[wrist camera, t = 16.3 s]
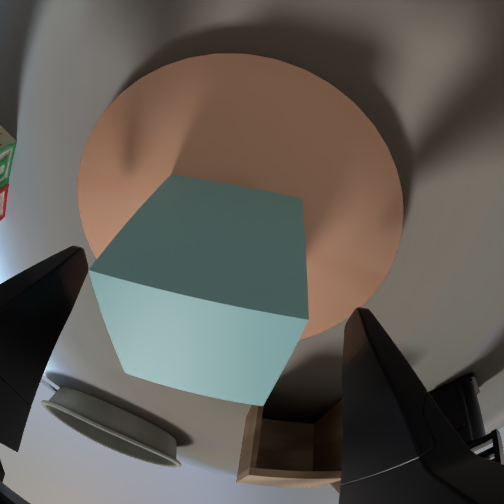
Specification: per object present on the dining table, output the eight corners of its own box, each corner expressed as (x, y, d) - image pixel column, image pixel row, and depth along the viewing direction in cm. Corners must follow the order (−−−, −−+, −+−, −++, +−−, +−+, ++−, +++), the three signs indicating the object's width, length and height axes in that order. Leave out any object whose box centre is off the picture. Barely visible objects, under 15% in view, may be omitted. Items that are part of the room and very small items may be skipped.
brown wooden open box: (347, 398, 20) (349, 477, 14) (316, 425, 24) (314, 487, 18) (259, 389, 20) (248, 474, 14) (246, 417, 24) (236, 482, 18)
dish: (440, 240, 10) (450, 256, 9) (239, 353, 17) (236, 369, 16) (224, -14, 6) (215, -23, 5) (61, 219, 12) (47, 232, 11)
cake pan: (30, 357, 28) (17, 382, 24) (194, 427, 30) (186, 458, 26) (71, 410, 42) (64, 427, 39) (181, 453, 44) (177, 472, 41)
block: (301, 198, 9) (308, 320, 5) (274, 293, 12) (262, 406, 8) (171, 174, 9) (88, 269, 5) (171, 271, 12) (125, 372, 8)
